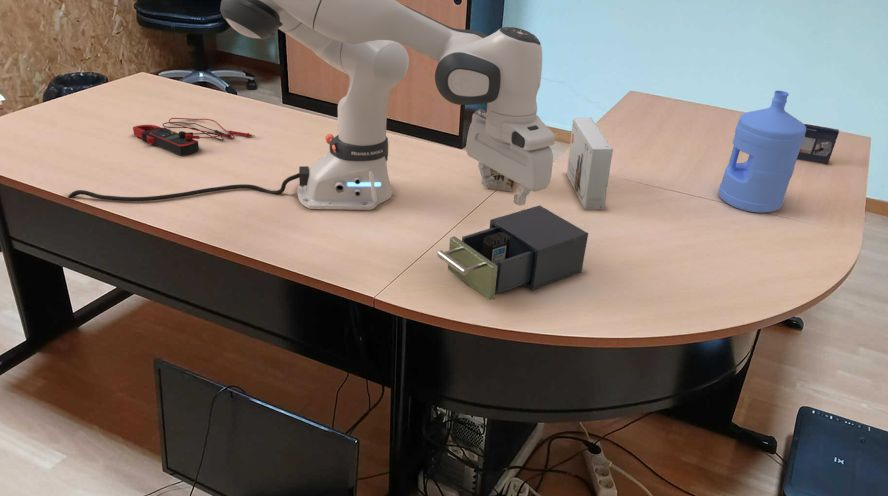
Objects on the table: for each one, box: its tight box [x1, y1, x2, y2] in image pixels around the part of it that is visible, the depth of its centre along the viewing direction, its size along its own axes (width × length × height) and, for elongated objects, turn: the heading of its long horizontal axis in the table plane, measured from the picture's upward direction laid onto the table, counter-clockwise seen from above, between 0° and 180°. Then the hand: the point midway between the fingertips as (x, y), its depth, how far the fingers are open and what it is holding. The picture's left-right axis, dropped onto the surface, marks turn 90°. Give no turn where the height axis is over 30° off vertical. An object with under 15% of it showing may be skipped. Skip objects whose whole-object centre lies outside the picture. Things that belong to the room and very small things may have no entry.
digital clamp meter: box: [132, 117, 254, 157], centre depth 199 cm, size 23×4×25 cm
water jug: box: [718, 90, 806, 214], centre depth 180 cm, size 16×16×28 cm
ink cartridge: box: [482, 232, 510, 270], centre depth 143 cm, size 5×2×8 cm, turn 125°
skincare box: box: [566, 116, 614, 211], centre depth 182 cm, size 21×5×16 cm, turn 5°
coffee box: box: [487, 168, 516, 193], centre depth 183 cm, size 9×6×16 cm
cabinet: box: [488, 205, 589, 291], centre depth 150 cm, size 14×15×9 cm
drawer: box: [436, 227, 535, 301], centre depth 143 cm, size 17×13×7 cm
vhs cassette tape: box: [797, 123, 840, 165], centre depth 213 cm, size 18×3×10 cm, turn 68°
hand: (502, 194), depth 138 cm, fingers open, 8 cm apart
